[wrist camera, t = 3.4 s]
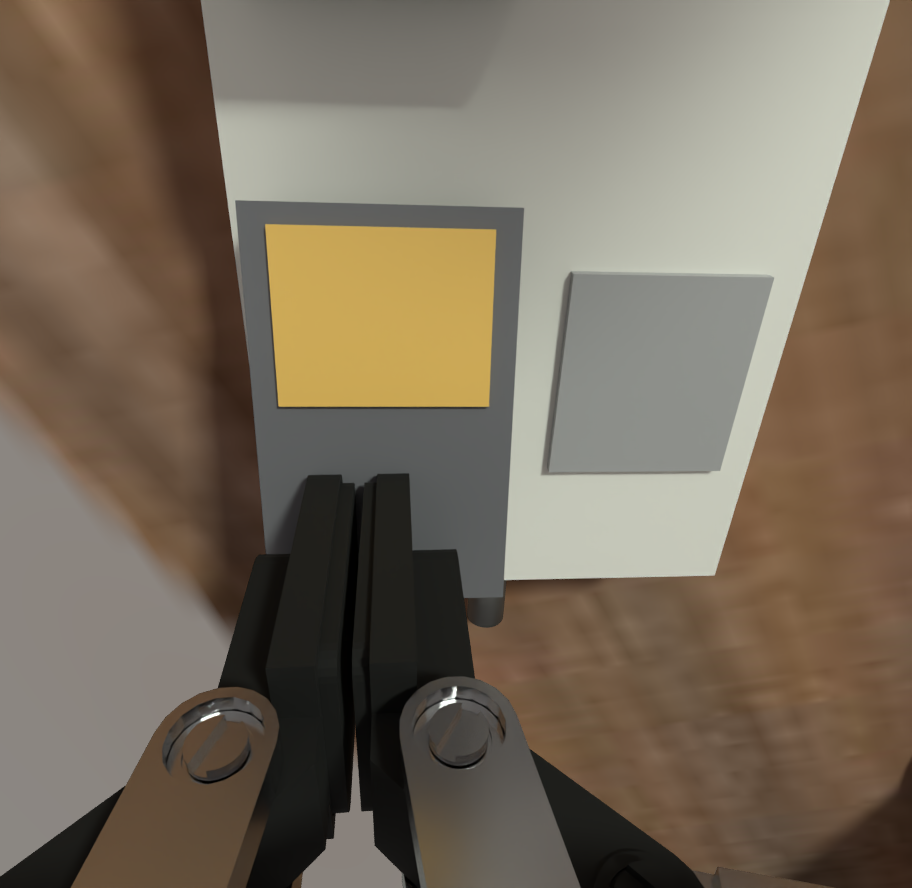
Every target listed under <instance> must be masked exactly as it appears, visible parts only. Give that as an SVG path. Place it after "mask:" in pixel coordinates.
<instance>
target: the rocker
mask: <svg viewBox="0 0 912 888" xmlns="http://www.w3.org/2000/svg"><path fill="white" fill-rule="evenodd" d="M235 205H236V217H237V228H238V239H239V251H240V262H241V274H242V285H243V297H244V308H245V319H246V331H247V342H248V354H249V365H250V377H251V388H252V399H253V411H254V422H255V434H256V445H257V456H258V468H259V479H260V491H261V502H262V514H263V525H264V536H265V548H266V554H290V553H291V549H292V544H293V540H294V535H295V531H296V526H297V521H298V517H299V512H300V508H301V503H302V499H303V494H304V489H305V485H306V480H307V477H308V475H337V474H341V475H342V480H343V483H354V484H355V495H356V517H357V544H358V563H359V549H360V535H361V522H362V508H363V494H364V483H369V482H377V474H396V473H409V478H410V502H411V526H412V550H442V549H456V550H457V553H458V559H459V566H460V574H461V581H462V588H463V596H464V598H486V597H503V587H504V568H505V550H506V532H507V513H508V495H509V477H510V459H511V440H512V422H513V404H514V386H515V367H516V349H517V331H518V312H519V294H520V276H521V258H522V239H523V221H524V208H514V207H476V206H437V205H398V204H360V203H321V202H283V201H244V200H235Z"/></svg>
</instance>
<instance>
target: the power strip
mask: <svg viewBox="0 0 912 888" xmlns="http://www.w3.org/2000/svg"><path fill="white" fill-rule="evenodd" d="M889 1H890V0H201V6H202V13H203V21H204V28H205V36H206V43H207V51H208V58H209V66H210V73H211V81H212V88H213V96H214V103H215V111H216V118H217V126H218V133H219V141H220V148H221V156H222V163H223V171H224V178H225V186H226V193H227V201H228V208H229V216H230V223H231V231H232V238H233V246H234V253H235V261H236V268H237V276H238V283H239V291H240V298H241V306H242V313H243V321H244V328H245V336H246V343H247V351H248V342H247V331H246V319H245V308H244V297H243V285H242V274H241V262H240V251H239V239H238V228H237V217H236V205H235V200H244V201H283V202H321V203H360V204H398V205H437V206H476V207H514V208H524V221H523V239H522V258H521V276H520V294H519V312H518V331H517V349H516V367H515V386H514V404H513V422H512V440H511V459H510V477H509V495H508V513H507V532H506V550H505V568H504V587H503V597H486V598H468V608H467V616H468V618H469V620H470V621H471V622H472V623H473V624H475V625H477V626H480V627H486V628H487V627H493V626H496V625H498V624H499V623H500V622H501V621H502V619H503V612H504V601H505V591H506V581H507V580H529V579H574V578H619V577H665V576H710V575H715V572H716V569H717V565H718V562H719V559H720V555H721V552H722V549H723V546H724V542H725V539H726V536H727V533H728V529H729V526H730V523H731V519H732V516H733V513H734V510H735V506H736V503H737V500H738V496H739V493H740V490H741V487H742V483H743V480H744V477H745V474H746V470H747V467H748V464H749V460H750V457H751V454H752V451H753V447H754V444H755V441H756V437H757V434H758V431H759V428H760V424H761V421H762V418H763V414H764V411H765V408H766V405H767V401H768V398H769V395H770V392H771V388H772V385H773V382H774V378H775V375H776V372H777V369H778V365H779V362H780V359H781V355H782V352H783V349H784V346H785V342H786V339H787V336H788V333H789V329H790V326H791V323H792V319H793V316H794V313H795V310H796V306H797V303H798V300H799V296H800V293H801V290H802V287H803V283H804V280H805V277H806V274H807V270H808V267H809V264H810V260H811V257H812V254H813V251H814V247H815V244H816V241H817V237H818V234H819V231H820V228H821V224H822V221H823V218H824V214H825V211H826V208H827V205H828V201H829V198H830V195H831V192H832V188H833V185H834V182H835V178H836V175H837V172H838V169H839V165H840V162H841V159H842V155H843V152H844V149H845V146H846V142H847V139H848V136H849V133H850V129H851V126H852V123H853V119H854V116H855V113H856V110H857V106H858V103H859V100H860V96H861V93H862V90H863V87H864V83H865V80H866V77H867V74H868V70H869V67H870V64H871V60H872V57H873V54H874V51H875V47H876V44H877V41H878V37H879V34H880V31H881V28H882V24H883V21H884V18H885V14H886V11H887V8H888V5H889ZM248 358H249V354H248ZM249 366H250V365H249Z"/></svg>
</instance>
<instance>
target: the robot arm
mask: <svg viewBox="0 0 912 888" xmlns="http://www.w3.org/2000/svg"><path fill="white" fill-rule="evenodd" d="M355 725H356V740H357V754H358V769H359V783H360V797H361V811H373V822H374V839H375V840H374V841H375V846H376V847H377V848H378V849H379V850H380V851H381V852H382V853H383V854H384V855H385V856H386V857H387V858H388V859H389V860H390V861H391V862H392V863H393V864H394V865H395V866H396V867H397V868H398V869H399V870H400V871H401V872H402V886H403V888H834V887H828V886H823V885H817V884H812V883H806V882H800V881H795V880H789V879H784V878H778V877H773V876H767V875H762V874H756V873H750V872H745V871H739V870H734V869H728V868H723V867H717V869H716V872H715V874H709V873H703V872H698V871H692V870H691V869H690V868H689V867H688V866H686V865H685V864H684V863H683V862H682V861H681V860H680V859H679V858H678V857H677V856H676V855H674V854H673V853H672V852H670V851H669V850H668V849H666V848H665V847H663V846H662V845H661V844H659V843H658V842H657V841H655V840H654V839H652V838H651V837H650V836H648V835H647V834H646V833H644V832H643V831H641V830H640V829H639V828H637V827H636V826H635V825H633V824H632V823H631V822H629V821H628V820H626V819H625V818H624V817H622V816H621V815H620V814H618V813H617V812H615V811H614V810H613V809H611V808H610V807H609V806H607V805H606V804H604V803H603V802H602V801H600V800H599V799H598V798H596V797H595V796H594V795H592V794H591V793H589V792H588V791H587V790H585V789H584V788H583V787H581V786H580V785H578V784H577V783H576V782H574V781H573V780H572V779H570V778H569V777H567V776H566V775H565V774H563V773H562V772H561V771H559V770H558V769H557V768H555V767H554V766H552V765H551V764H550V763H548V762H547V761H546V760H544V759H543V758H541V757H540V756H539V755H537V754H536V753H535V752H533V751H532V750H530V749H529V747H528V744H527V741H526V739H525V736H524V733H523V731H522V728H521V725H520V723H519V720H518V717H517V714H516V713H515V711H514V709H513V707H512V706H511V704H510V702H509V700H508V699H507V698H506V697H505V696H504V695H503V694H502V693H501V692H499V691H498V690H497V689H496V688H495V687H493V686H491V685H489V684H487V683H485V682H483V681H481V680H478V679H475V676H474V668H473V661H472V654H471V646H470V639H469V632H468V625H467V617H466V610H465V603H464V596H463V588H462V581H461V574H460V566H459V559H458V553H457V550H456V549H442V550H412V526H411V502H410V478H409V473H396V474H377V482H369V483H364V494H363V508H362V522H361V535H360V549H359V563H358V544H357V517H356V495H355V484H354V483H343V480H342V475H341V474H337V475H308V477H307V480H306V485H305V489H304V494H303V499H302V503H301V508H300V512H299V517H298V521H297V526H296V531H295V535H294V540H293V544H292V549H291V553H290V554H265V555H258V556H257V557H256V560H255V562H254V565H253V568H252V572H251V575H250V579H249V582H248V586H247V589H246V593H245V596H244V599H243V603H242V606H241V610H240V613H239V617H238V620H237V624H236V627H235V631H234V634H233V637H232V641H231V644H230V648H229V651H228V655H227V658H226V662H225V665H224V668H223V672H222V675H221V679H220V682H219V686H218V688H217V689H213V690H210V691H206V692H203V693H200V694H198V695H196V696H194V697H193V698H191V699H189V700H187V701H185V702H183V703H182V704H180V705H179V706H178V707H177V708H176V709H175V710H174V711H172V712H171V713H170V714H169V715H168V716H166V717H165V719H164V720H163V722H162V723H161V724H160V726H159V727H158V729H157V730H156V731H155V733H154V734H153V736H152V738H151V740H150V742H149V743H148V745H147V747H146V749H145V751H144V753H143V755H142V756H141V759H140V760H139V762H138V764H137V766H136V768H135V769H134V772H133V773H132V775H131V777H130V779H129V781H128V782H127V785H126V786H124V787H123V788H122V789H120V790H119V791H118V792H116V793H115V794H113V795H112V796H111V797H110V798H108V799H106V800H105V801H104V802H102V803H101V804H100V805H98V806H97V807H95V808H94V809H93V810H91V811H90V812H89V813H87V814H86V815H84V816H83V817H82V818H80V819H79V820H78V821H76V822H75V823H74V824H72V825H71V826H69V827H68V828H67V829H65V830H64V831H63V832H61V833H60V834H58V835H57V836H56V837H54V838H53V839H51V840H50V841H49V842H47V843H46V844H44V845H43V846H42V847H40V848H39V849H38V850H36V851H35V852H33V853H32V854H31V855H29V856H28V857H27V858H25V859H24V860H23V861H21V862H20V863H18V864H17V865H16V866H14V867H13V868H12V869H10V870H9V871H7V872H6V873H5V874H3V875H2V876H0V888H301V884H302V875H303V871H304V870H305V869H306V868H307V867H308V866H309V865H310V864H311V863H312V862H313V861H314V860H315V859H316V858H317V857H318V856H319V855H320V854H321V853H322V852H323V851H324V850H325V848H326V839H333V838H334V828H335V814H336V813H344V812H349V811H350V803H351V787H352V770H353V753H354V736H355Z"/></svg>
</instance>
